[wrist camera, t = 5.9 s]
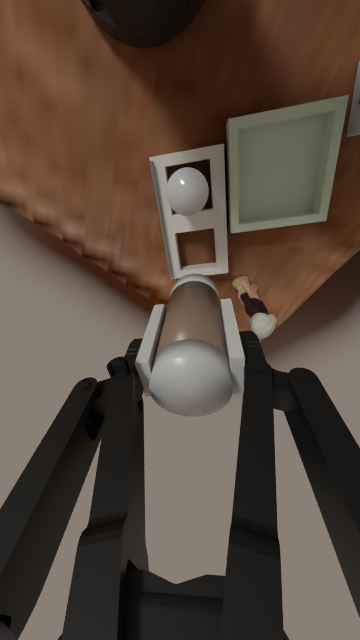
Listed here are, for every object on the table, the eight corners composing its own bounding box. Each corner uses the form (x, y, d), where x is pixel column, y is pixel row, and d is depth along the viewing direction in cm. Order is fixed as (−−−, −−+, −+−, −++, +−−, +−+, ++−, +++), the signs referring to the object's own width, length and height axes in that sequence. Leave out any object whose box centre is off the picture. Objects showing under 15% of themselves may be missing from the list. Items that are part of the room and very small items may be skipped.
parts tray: (225, 123, 27) (228, 118, 25) (334, 102, 26) (348, 94, 23) (229, 228, 34) (231, 233, 31) (316, 217, 32) (326, 220, 30)
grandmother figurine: (221, 285, 39) (229, 328, 28) (236, 267, 37) (251, 306, 26) (256, 308, 41) (276, 356, 30) (272, 292, 39) (299, 337, 28)
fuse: (171, 171, 30) (162, 171, 23) (205, 165, 30) (206, 163, 22) (176, 207, 33) (169, 218, 25) (207, 203, 32) (210, 212, 25)
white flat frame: (152, 158, 30) (148, 157, 28) (222, 145, 29) (224, 142, 26) (172, 274, 38) (170, 280, 36) (227, 268, 37) (228, 274, 35)
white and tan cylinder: (167, 276, 20) (140, 362, 11) (217, 271, 20) (231, 357, 11) (174, 317, 23) (157, 417, 14) (219, 314, 22) (233, 415, 13)
